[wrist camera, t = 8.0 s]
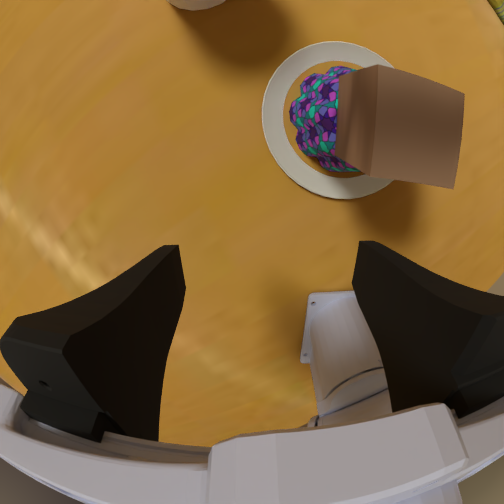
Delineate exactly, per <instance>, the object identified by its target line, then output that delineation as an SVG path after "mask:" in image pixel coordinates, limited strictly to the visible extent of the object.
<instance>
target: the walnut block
mask: <svg viewBox="0 0 504 504" xmlns="http://www.w3.org/2000/svg"><path fill="white" fill-rule="evenodd" d="M463 114H464V93H461V92H459V91H457V90H454V89H452V88H450V87H447V86H445V85H442V84H440V83H437V82H434V81H432V80H429V79H426V78H423V77H420V76H417V75H414V74H411V73H408V72H405V71H401V70H398V69H394V68H391V67H387V66H383V65H379V64H377V65H373V66H370V67H366V68H363V69H360V70H357V71H353V72H350V73H347V74H344V75H341V76H339V88H338V111H337V127H336V141H335V154H334V155H335V156H337V157H339V158H340V159H342V160H344V161H345V162H347V163H349V164H350V165H352V166H353V167H355V168H357V169H358V170H360V171H362V172H363V173H365V174H366V175H368V176H369V177H376V178H384V179H392V180H400V181H407V182H414V183H420V184H427V185H433V186H438V187H444V188H449V189H453V188H454V183H455V178H456V172H457V166H458V160H459V153H460V146H461V137H462V127H463Z"/></svg>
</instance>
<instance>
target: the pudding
mask: <svg viewBox="0 0 504 504" xmlns="http://www.w3.org/2000/svg"><path fill="white" fill-rule="evenodd" d="M327 61H345V62H351V63H354V64H357V65H360V66H362V67H364V68H366V67H370V66H373V65H377V64H379V65H383V66H387V67H391V68H394V67H393V66H392V65H391V64H390V63H389V62H387V61H386V60H385V59H383V58H382V57H381V56H380V55H378V54H376V53H375V52H373V51H371V50H369V49H367V48H365V47H362V46H359V45H356V44H353V43H347V42H340V41H332V42H321V43H317V44H312V45H309V46H307V47H305V48H302V49H300V50H298V51H296V52H295V53H294V54H292V55H291V56H289V57H288V58H287V59H286V60H285V61H284V62H283V63H282V64H281V65H280V66H279V67H278V68H277V69H276V71H275V72H274V74H273V76H272V77H271V79H270V81H269V83H268V86H267V88H266V91H265V94H264V99H263V105H262V125H263V130H264V135H265V139H266V142H267V144H268V147H269V149H270V152H271V153H272V155H273V157H274V158H275V160H276V162H277V163H278V165H279V166H280V167H281V168H282V169H283V171H284V172H285V173H286V174H287V175H288V176H289V177H290V178H291V179H293V180H294V181H295V182H296V183H297V184H299V185H300V186H302V187H304V188H306V189H307V190H309V191H311V192H313V193H316V194H319V195H321V196H325V197H330V198H335V199H353V198H360V197H364V196H367V195H370V194H373V193H375V192H377V191H379V190H381V189H383V188H384V187H386V186H387V185H388V184H390V183H391V182H392V181H393V180H392V179H384V178H376V177H369V176H368V175H366V174H364V175H361V176H358V177H352V178H336V177H331V176H327V175H325V174H322V173H319V172H318V171H316V170H314V169H312V168H311V167H309V166H308V165H307V164H306V163H305V162H303V161H302V160H301V159H300V158H299V156H298V155H297V154H296V153H295V152H294V150H293V148H292V147H291V145H290V143H289V141H288V138H287V136H286V133H285V129H284V124H283V107H284V101H285V98H286V95H287V92H288V90H289V88H290V87H291V85H292V83H293V82H294V81H295V79H296V78H297V77H298V76H299V75H300V74H301V73H303V72H304V71H305V70H307V69H308V68H310V67H312V66H314V65H316V64H319V63H323V62H327ZM353 71H357V70H355V69H351V68H347V67H343V66H337V67H331V68H330V70H329V71H328V72H327V73H326V74H325V75H323V74H315V73H314V74H312V75H310V76H308V77H306V78H305V80H304V81H303V82H302V84H301V85H300V89H301V96H300V97H299V98H297V99H296V100H295V101H293V102H292V104H291V107H290V111H289V113H290V121H291V122H292V123H293V124H294V125H295V126H296V128H297V129H298V132H297V137H296V142H297V144H298V146H299V149H300V150H301V151H302V152H303V153H305V154H306V155H307V156H312V157H317V158H318V160H319V162H320V164H321V166H322V167H323V168H325V169H327V170H329V171H333V172H361V171H360V170H358V169H357V168H355V167H353V166H352V165H350V164H349V163H347V162H345V161H344V160H342V159H340V158H339V157H337V156H335V155H334V154H335V141H336V127H337V111H338V88H339V76H341V75H344V74H347V73H350V72H353Z"/></svg>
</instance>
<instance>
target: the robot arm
mask: <svg viewBox="0 0 504 504" xmlns="http://www.w3.org/2000/svg"><path fill="white" fill-rule="evenodd" d="M352 285H353V289H354V291H338V292H319V293H311V294H310V295H309V296H308V302H307V310H306V318H305V326H304V333H303V341H302V348H301V354H300V362H301V363H310V368H311V373H312V379H313V384H314V390H315V395H316V401H317V409H318V415H316V416H313V417H312V418H311V419H310V420H309V423H308V426H307V427H306V428H295V429H280V430H270V431H262V432H254V433H245V434H239V435H237V436H234V437H231V438H228V439H226V440H223V441H220V442H218V443H216V444H215V445H213V446H212V447H201V446H189V445H179V444H171V443H163V442H158V439H159V417H160V404H161V395H162V387H163V379H164V373H165V367H166V361H167V357H168V353H169V349H170V346H171V343H172V339H173V336H174V333H175V330H176V327H177V324H178V321H179V317H180V314H181V311H182V307H183V302H184V296H185V290H186V285H185V280H184V274H183V269H182V263H181V257H180V251H179V245H164V246H162V247H160V248H158V249H157V250H155V251H154V252H152V253H151V254H149V255H148V256H147V257H145V258H144V259H142V260H141V261H140V262H138V263H137V264H135V265H134V266H133V267H131V268H130V269H128V270H127V271H125V272H124V273H122V274H121V275H119V276H118V277H116V278H115V279H113V280H111V281H110V282H108V283H106V284H105V285H103V286H101V287H99V288H97V289H95V290H93V291H91V292H89V293H87V294H85V295H83V296H81V297H78V298H76V299H74V300H72V301H69V302H67V303H64V304H62V305H59V306H56V307H53V308H50V309H47V310H44V311H40V312H36V313H32V314H28V315H24V316H20V317H17V318H16V319H15V320H14V321H13V322H12V324H11V325H10V326H9V328H8V329H7V331H6V332H5V333H4V335H3V336H2V338H1V339H0V350H1V353H2V355H3V357H4V359H5V361H6V362H7V364H8V365H9V367H10V368H11V369H12V371H13V372H14V373H15V375H16V376H17V377H18V378H19V380H20V381H21V382H22V383H23V385H24V386H25V387H26V388H27V389H28V391H27V393H26V395H25V397H24V396H23V395H22V394H21V393H19V392H18V391H16V390H14V389H11V388H9V387H7V386H5V385H3V384H0V457H1V458H2V459H4V460H5V461H7V462H8V463H9V464H11V465H12V466H14V467H15V468H17V469H18V470H20V471H22V472H23V473H25V474H27V475H28V476H30V477H32V478H34V479H35V480H37V481H39V482H41V483H43V484H45V485H46V486H48V487H50V488H52V489H55V490H56V491H58V492H60V493H63V494H65V495H67V496H69V497H71V498H74V499H76V500H78V501H81V502H83V503H86V504H463V503H462V498H461V495H460V491H459V487H458V484H457V483H459V482H461V481H462V480H465V479H466V478H468V477H470V476H472V475H473V474H475V473H476V472H478V471H480V470H481V469H483V468H485V467H486V466H488V465H489V464H491V463H492V462H494V461H495V460H497V459H498V458H500V457H501V456H502V455H504V296H499V295H495V294H491V293H487V292H483V291H480V290H476V289H473V288H470V287H467V286H464V285H462V284H459V283H456V282H454V281H451V280H449V279H447V278H444V277H442V276H440V275H438V274H435V273H433V272H431V271H429V270H428V269H426V268H424V267H422V266H420V265H418V264H416V263H414V262H413V261H411V260H409V259H407V258H406V257H404V256H402V255H400V254H399V253H397V252H395V251H393V250H391V249H390V248H388V247H386V246H384V245H382V244H380V243H378V242H375V241H359V247H358V253H357V258H356V264H355V269H354V274H353V280H352ZM312 302H315V303H313V304H312ZM305 353H306V354H305Z"/></svg>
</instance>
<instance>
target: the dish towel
mask: <svg viewBox="0 0 504 504" xmlns="http://www.w3.org/2000/svg"><path fill="white" fill-rule="evenodd" d="M488 2H489V3H490V5H491V6H492V7H493V9H494V10H495V12H496V14H497V15H498V17H499V18H500V20H501V21H502V23H503V24H504V0H488Z"/></svg>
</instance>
